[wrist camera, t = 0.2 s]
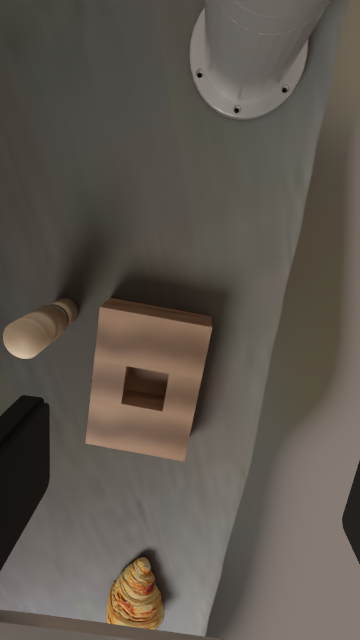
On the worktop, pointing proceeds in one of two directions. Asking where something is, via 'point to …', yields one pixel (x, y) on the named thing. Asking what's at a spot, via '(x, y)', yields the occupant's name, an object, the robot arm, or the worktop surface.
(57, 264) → the worktop surface
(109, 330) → the board
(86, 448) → the worktop surface
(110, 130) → the worktop surface
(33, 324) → the peg
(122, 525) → the worktop surface
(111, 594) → the croissant
